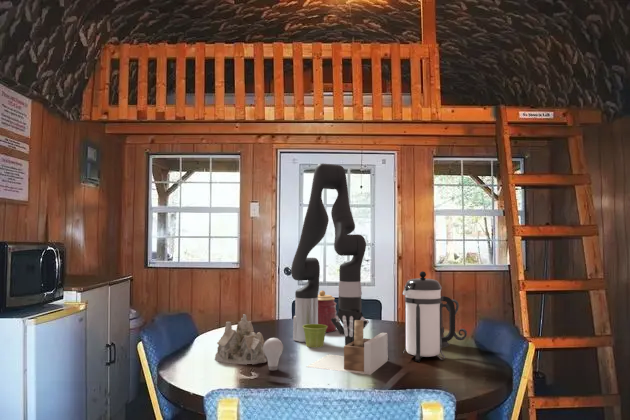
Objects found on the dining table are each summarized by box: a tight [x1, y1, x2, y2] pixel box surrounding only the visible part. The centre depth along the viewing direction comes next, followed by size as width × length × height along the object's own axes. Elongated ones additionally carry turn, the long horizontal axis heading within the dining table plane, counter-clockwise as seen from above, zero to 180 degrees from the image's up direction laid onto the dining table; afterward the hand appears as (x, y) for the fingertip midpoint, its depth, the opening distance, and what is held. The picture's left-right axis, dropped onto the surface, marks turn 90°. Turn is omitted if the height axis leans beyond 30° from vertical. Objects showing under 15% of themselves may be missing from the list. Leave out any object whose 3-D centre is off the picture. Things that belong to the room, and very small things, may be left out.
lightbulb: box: [263, 337, 284, 371], centre depth 159 cm, size 6×6×11 cm
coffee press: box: [401, 270, 456, 363], centre depth 182 cm, size 17×16×30 cm
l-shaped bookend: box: [306, 332, 389, 375], centre depth 166 cm, size 21×18×10 cm
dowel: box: [354, 320, 364, 347], centre depth 161 cm, size 3×3×12 cm
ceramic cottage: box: [214, 314, 268, 365], centre depth 177 cm, size 16×16×15 cm
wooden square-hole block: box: [343, 337, 371, 372], centre depth 164 cm, size 7×14×7 cm, turn 156°
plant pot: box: [302, 324, 328, 349], centre depth 192 cm, size 9×9×9 cm
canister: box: [318, 290, 338, 333], centre depth 232 cm, size 13×13×18 cm
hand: (349, 347), depth 170 cm, fingers closed
